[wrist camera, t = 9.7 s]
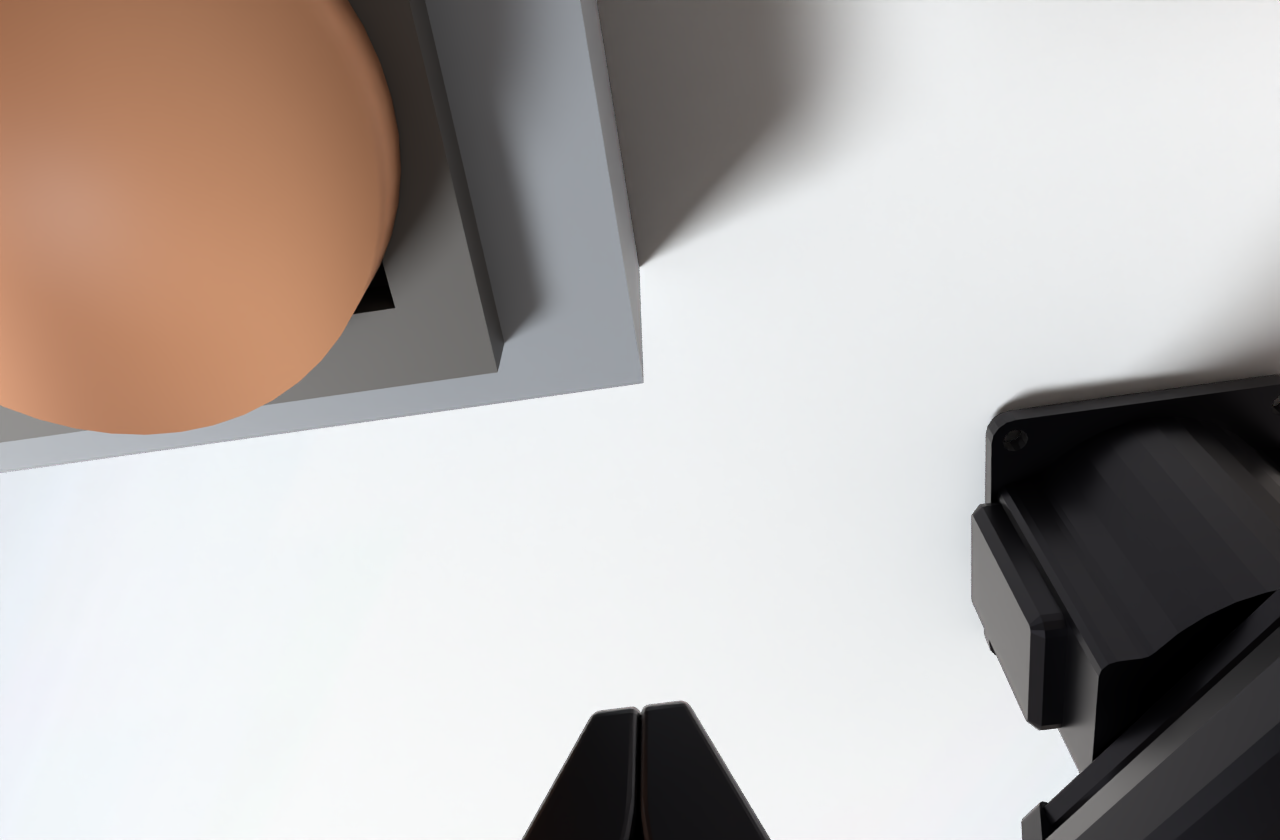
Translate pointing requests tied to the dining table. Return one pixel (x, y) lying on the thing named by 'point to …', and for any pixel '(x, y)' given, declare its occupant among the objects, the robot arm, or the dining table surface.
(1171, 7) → the dining table surface
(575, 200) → the socket block
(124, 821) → the dining table surface
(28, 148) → the pin
